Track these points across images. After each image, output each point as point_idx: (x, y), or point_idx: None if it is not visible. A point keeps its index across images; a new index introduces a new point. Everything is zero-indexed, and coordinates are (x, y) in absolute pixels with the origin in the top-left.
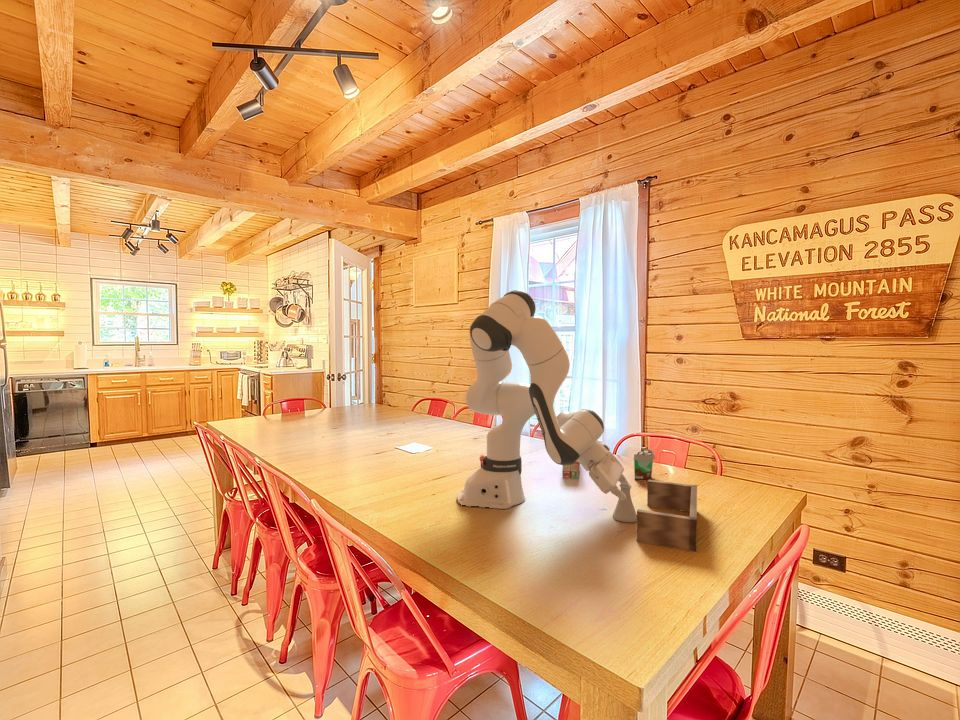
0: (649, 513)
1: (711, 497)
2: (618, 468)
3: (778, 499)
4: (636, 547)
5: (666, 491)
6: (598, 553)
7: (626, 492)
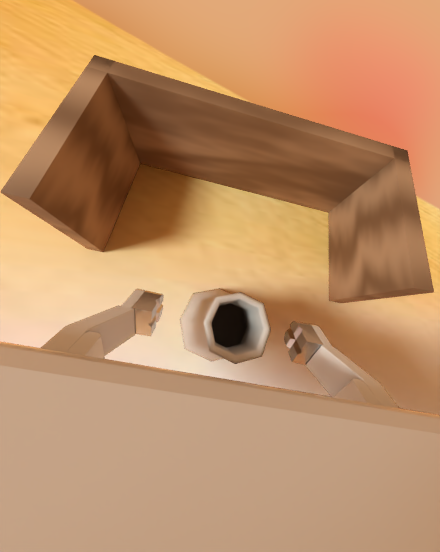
0: (424, 254)
1: (21, 94)
2: (10, 429)
3: (39, 2)
4: (368, 305)
5: (93, 166)
6: (432, 390)
7: (252, 320)
